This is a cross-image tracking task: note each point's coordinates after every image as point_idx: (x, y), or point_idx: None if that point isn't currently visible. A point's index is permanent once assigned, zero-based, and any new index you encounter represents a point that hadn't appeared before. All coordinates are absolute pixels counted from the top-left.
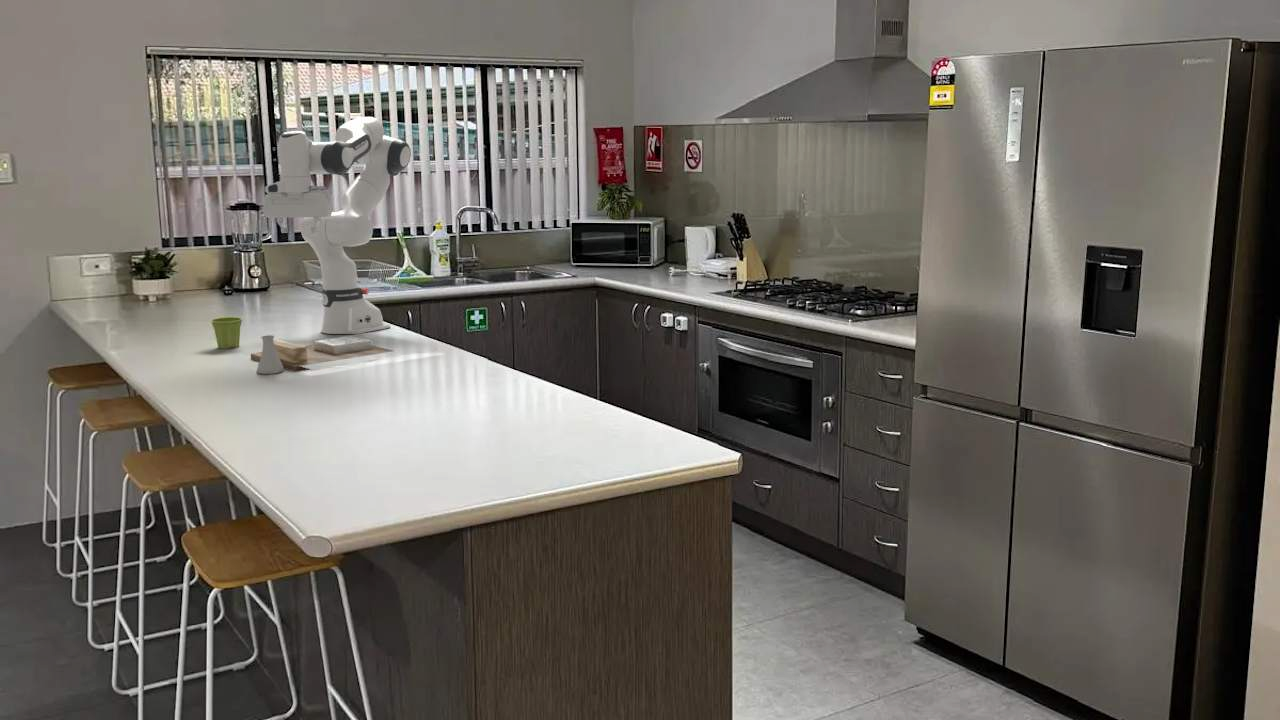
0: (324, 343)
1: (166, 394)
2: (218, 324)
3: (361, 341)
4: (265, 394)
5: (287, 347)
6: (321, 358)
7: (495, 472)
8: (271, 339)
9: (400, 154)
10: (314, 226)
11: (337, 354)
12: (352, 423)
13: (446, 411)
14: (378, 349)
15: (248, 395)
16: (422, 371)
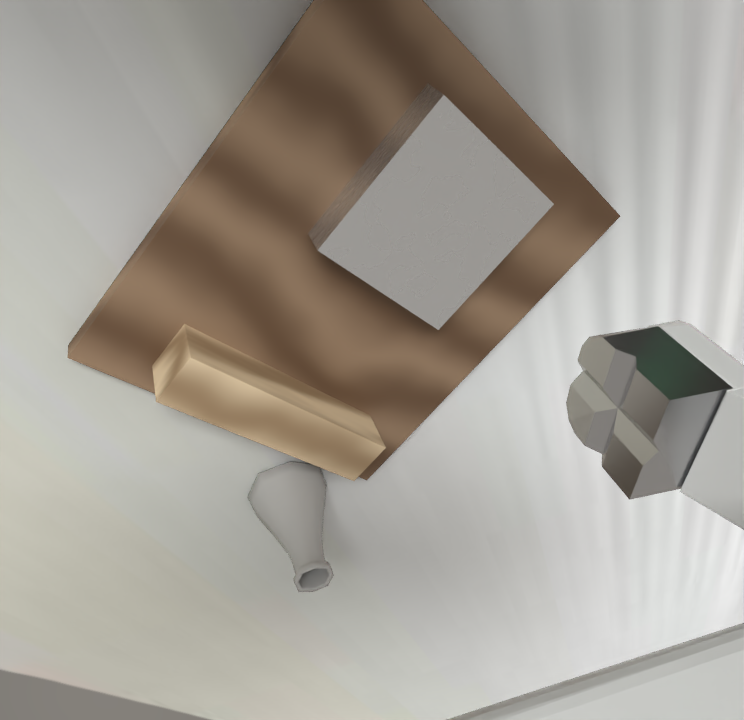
0: (385, 292)
1: (165, 693)
2: None
3: (520, 231)
4: (385, 626)
5: (323, 468)
6: (402, 376)
7: None
8: (326, 570)
9: None
10: (705, 488)
11: None
12: (573, 670)
13: (691, 595)
14: (562, 200)
15: (354, 640)
16: None
